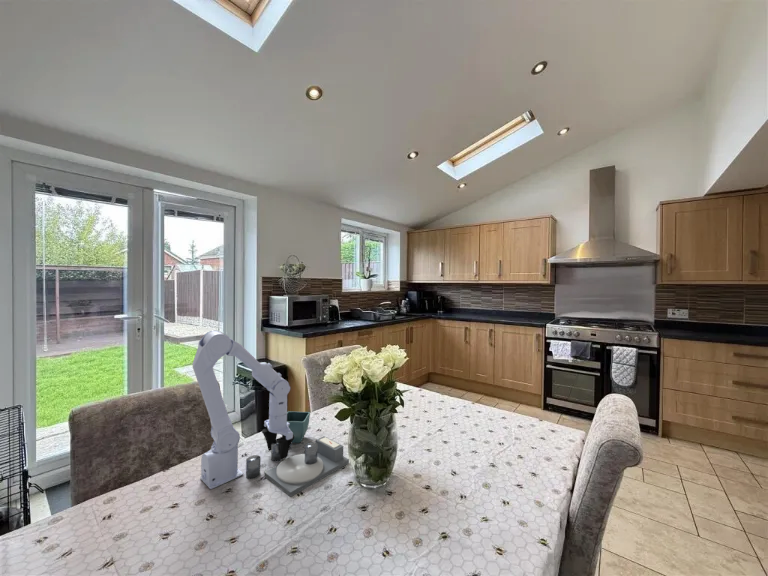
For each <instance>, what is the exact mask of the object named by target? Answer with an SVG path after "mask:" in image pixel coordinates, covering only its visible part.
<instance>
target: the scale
mask: <svg viewBox="0 0 768 576" xmlns="http://www.w3.org/2000/svg"><path fill="white" fill-rule="evenodd" d="M315 443H317V444H318V452H317V462H316V463H315V464H311V465H308V464H306V463H305V452H304V453H301V454H295V455H292V456H289V457H286V458H284V459H282V461H280V463H279V464H278V465H277V466H274V467H272V468H270V469H268V470H266V471H264V472H263V473H264V475H263V476H264V477H265V478H266V479H268V480H269V481H270V482H271V483H272V484H274V485H275V486H276V487H277V488H279V489H280V490H281V491H283V492H284V493H285V494H286V495H288V497H292V496H294V495H296V494H297V493H300V492H301V491H303V490H305V489H306V488H308V487H310V486H311V485H313V484H315V483H316V482H319V481H320V480H322V479H324V478H325V477H327V476H329V475H330V474H333V473H334V472H336V471H338V470H339V469H341V468H343V467H344V466H346V465H348V464H349V463H350V459H349V458H347V457H345V456H344V445H343V444H340V443H338V442H337V441H335V440H333V439H331V438H328V437H327V436H325V435H323V436H322V437H319V438H317V439H316V440H315Z"/></svg>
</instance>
